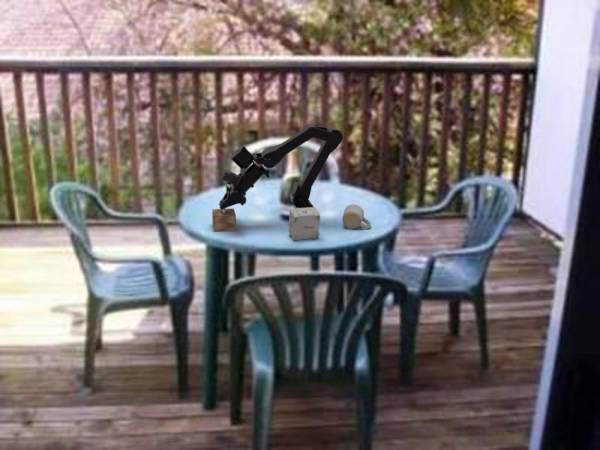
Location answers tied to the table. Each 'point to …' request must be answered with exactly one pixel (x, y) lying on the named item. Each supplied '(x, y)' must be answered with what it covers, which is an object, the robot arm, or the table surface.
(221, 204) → the black ball knob
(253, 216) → the table surface
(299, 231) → the beige cardboard box
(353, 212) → the ceramic mug
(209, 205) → the table surface
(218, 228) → the wooden box
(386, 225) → the table surface
